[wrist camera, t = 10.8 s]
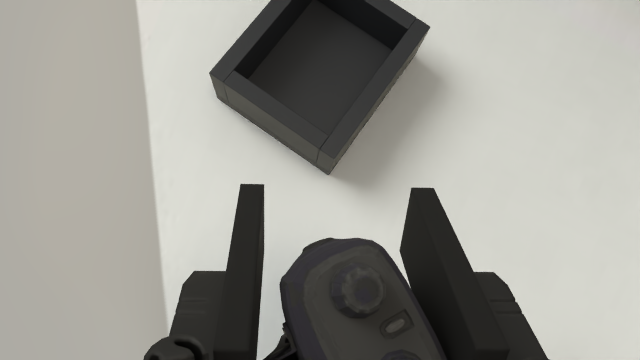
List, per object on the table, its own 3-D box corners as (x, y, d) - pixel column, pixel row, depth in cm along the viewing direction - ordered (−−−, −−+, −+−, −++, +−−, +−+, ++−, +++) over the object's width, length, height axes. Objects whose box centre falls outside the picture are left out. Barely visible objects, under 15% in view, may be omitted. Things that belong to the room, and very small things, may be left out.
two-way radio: (396, 358, 20) (662, 525, 6) (303, 412, 20) (343, 754, 5) (335, 243, 21) (432, 138, 7) (245, 290, 21) (138, 286, 6)
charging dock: (217, 98, 37) (208, 72, 32) (310, -14, 39) (313, -51, 35) (328, 175, 36) (334, 159, 32) (414, 55, 39) (430, 26, 34)
